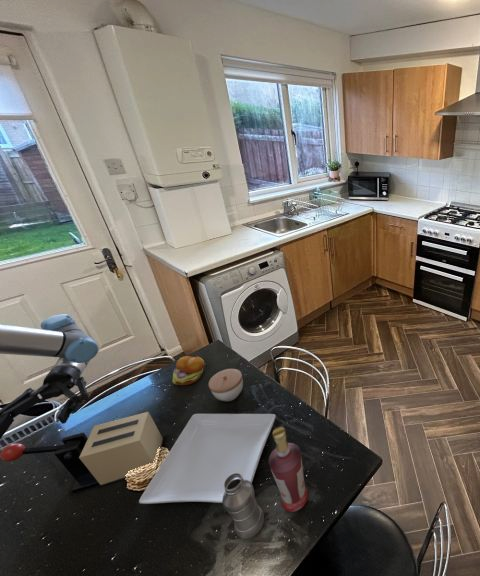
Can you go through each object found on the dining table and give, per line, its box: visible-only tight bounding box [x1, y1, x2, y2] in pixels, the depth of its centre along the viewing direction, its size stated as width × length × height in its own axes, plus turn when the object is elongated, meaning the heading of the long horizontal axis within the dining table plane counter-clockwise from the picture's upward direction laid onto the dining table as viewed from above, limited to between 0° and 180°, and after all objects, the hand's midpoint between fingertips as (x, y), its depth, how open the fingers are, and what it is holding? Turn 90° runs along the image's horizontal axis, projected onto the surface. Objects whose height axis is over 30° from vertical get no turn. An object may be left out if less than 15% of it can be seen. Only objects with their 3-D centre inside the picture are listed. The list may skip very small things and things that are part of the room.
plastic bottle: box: [221, 473, 265, 540], centre depth 72 cm, size 6×7×20 cm
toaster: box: [79, 411, 165, 487], centre depth 88 cm, size 13×10×13 cm
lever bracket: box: [54, 432, 100, 493], centre depth 85 cm, size 6×9×14 cm, turn 22°
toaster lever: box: [0, 440, 81, 462], centre depth 79 cm, size 14×4×4 cm, turn 113°
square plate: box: [138, 413, 277, 505], centre depth 91 cm, size 27×27×4 cm
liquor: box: [268, 426, 309, 513], centre depth 75 cm, size 7×7×28 cm
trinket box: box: [208, 368, 244, 402], centre depth 111 cm, size 11×11×9 cm
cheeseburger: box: [172, 355, 205, 386], centre depth 119 cm, size 10×11×10 cm
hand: (28, 428), depth 83 cm, fingers open, 13 cm apart
